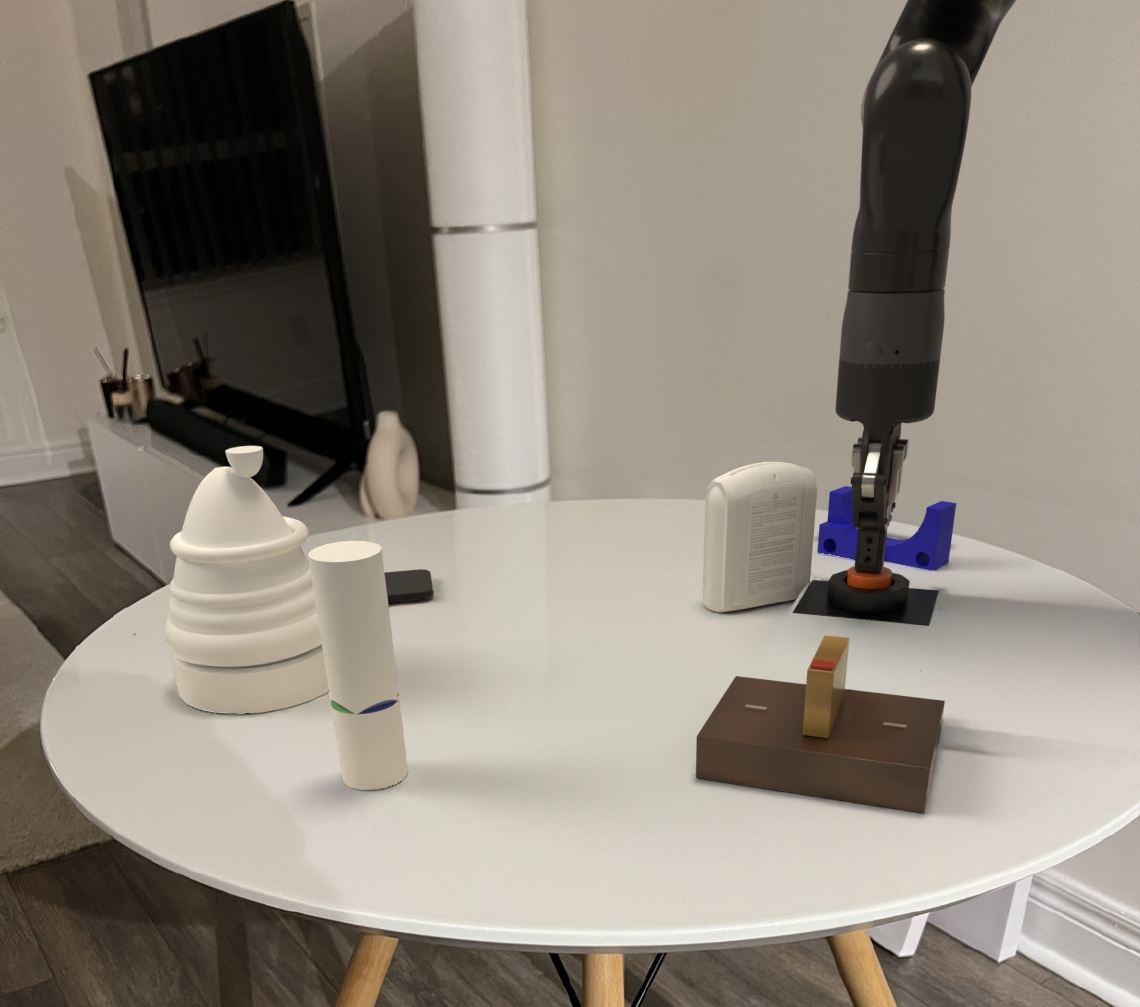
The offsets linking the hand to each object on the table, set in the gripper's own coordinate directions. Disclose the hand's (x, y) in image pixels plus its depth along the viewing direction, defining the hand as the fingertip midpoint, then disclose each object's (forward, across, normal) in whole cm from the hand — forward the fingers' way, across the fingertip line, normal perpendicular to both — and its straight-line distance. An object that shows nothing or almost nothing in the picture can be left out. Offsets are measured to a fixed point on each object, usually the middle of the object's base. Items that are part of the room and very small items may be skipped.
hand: (868, 570), depth 90 cm
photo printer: (+4, +2, +10) cm, 11 cm away
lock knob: (+1, -27, -1) cm, 27 cm away
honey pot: (+4, -27, +43) cm, 51 cm away
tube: (+4, -38, +26) cm, 46 cm away
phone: (+4, -7, +47) cm, 48 cm away
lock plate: (+4, -27, -1) cm, 27 cm away
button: (+2, 0, 0) cm, 2 cm away
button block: (+4, 0, 0) cm, 4 cm away
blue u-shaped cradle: (+4, +18, +1) cm, 19 cm away
